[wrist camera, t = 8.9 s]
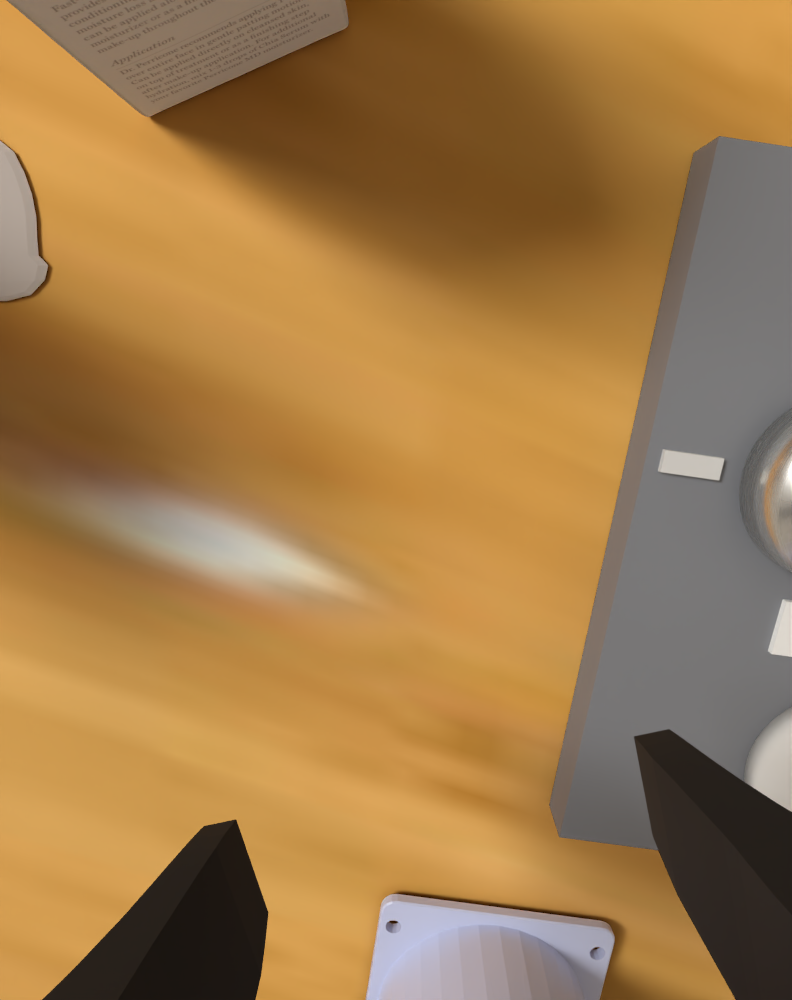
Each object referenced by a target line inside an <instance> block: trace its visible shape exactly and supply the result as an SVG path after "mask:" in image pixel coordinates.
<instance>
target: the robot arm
mask: <svg viewBox="0 0 792 1000" xmlns="http://www.w3.org/2000/svg"><path fill="white" fill-rule="evenodd" d="M634 740H635V746H636V751H637V756H638V761H639V767H640V772H641V777H642V782H643V788H644V793H645V798H646V804H647V809H648V814H649V819H650V825H651V830H652V835H653V838H654V841H655V843H656V845H657V848H658V850H659V853H660V855H661V857H662V860H663V862H664V865H665V867H666V869H667V872H668V874H669V876H670V879H671V881H672V883H673V885H674V888H675V890H676V892H677V895H678V897H679V898H680V900H681V902H682V904H683V906H684V908H685V909H686V911H687V913H688V915H689V917H690V918H691V920H692V922H693V924H694V926H695V927H696V929H697V931H698V933H699V935H700V936H701V938H702V940H703V942H704V944H705V945H706V947H707V949H708V951H709V953H710V954H711V956H712V958H713V960H714V962H715V963H716V965H717V967H718V969H719V970H720V972H721V974H722V976H723V978H724V979H725V981H726V983H727V985H728V987H729V988H730V990H731V992H732V994H733V995H734V997H735V999H736V1000H792V812H791V811H789V810H788V809H786V808H784V807H783V806H781V805H779V804H778V803H776V802H775V801H773V800H771V799H770V798H768V797H767V796H765V795H764V794H762V793H761V792H759V791H758V790H756V789H755V788H753V787H751V786H750V785H748V784H747V783H745V782H744V781H742V780H741V779H739V778H738V777H736V776H735V775H733V774H732V773H731V772H729V771H728V770H726V769H725V768H723V767H722V766H720V765H719V764H718V763H716V762H715V761H713V760H712V759H711V758H709V757H708V756H706V755H705V754H704V753H702V752H701V751H699V750H698V749H697V748H695V747H694V746H693V745H691V744H690V743H688V742H687V741H686V740H684V739H683V738H681V737H680V736H679V735H677V734H676V733H674V732H673V731H671V730H670V729H667V730H662V731H657V732H653V733H648V734H643V735H638V736H634ZM267 920H268V911H267V908H266V905H265V902H264V899H263V896H262V893H261V890H260V888H259V885H258V882H257V879H256V876H255V873H254V870H253V867H252V864H251V861H250V859H249V856H248V853H247V850H246V847H245V844H244V841H243V838H242V835H241V832H240V830H239V827H238V824H237V821H236V820H232V821H227V822H222V823H217V824H212V825H208V826H204V827H203V828H202V829H201V830H200V831H199V832H198V833H197V834H196V835H195V836H194V837H193V838H192V839H191V840H190V841H189V843H188V844H187V845H186V846H185V847H184V848H183V849H182V850H181V852H180V853H179V854H178V855H177V856H176V857H175V858H174V860H173V861H172V862H171V863H170V864H169V865H168V866H167V868H166V869H165V870H164V871H163V872H162V873H161V874H160V876H159V877H158V878H157V879H156V880H155V881H154V882H153V884H152V885H151V886H150V887H149V888H148V889H147V890H146V892H145V893H144V894H143V895H142V896H141V897H140V898H139V899H138V901H137V902H136V903H135V904H134V905H133V906H132V907H131V909H130V910H129V911H128V912H127V913H126V914H125V915H124V916H123V918H122V919H121V920H120V921H119V922H118V923H117V924H116V925H115V926H114V927H113V928H112V929H111V930H110V931H109V932H108V933H107V934H106V936H105V937H104V938H103V939H102V940H101V941H100V942H99V943H98V944H97V945H96V946H95V947H94V948H93V949H92V950H91V951H90V952H89V953H88V955H87V956H86V957H85V958H84V959H83V960H82V961H81V962H80V963H79V964H78V965H77V966H76V967H75V968H74V969H73V970H72V971H71V972H70V973H69V974H68V975H67V976H66V977H65V978H64V979H63V980H62V981H61V982H60V983H59V984H58V985H57V986H56V987H55V988H54V989H53V990H52V991H51V992H50V993H49V994H48V995H47V996H46V997H45V998H43V999H42V1000H255V999H256V994H257V990H258V986H259V981H260V977H261V971H262V963H263V955H264V948H265V939H266V929H267ZM392 920H395V921H398V923H394V924H392V923H390V922H389V921H392ZM614 943H615V937H614V934H613V931H612V929H611V926H610V925H609V924H608V923H606V922H603V921H600V920H592V919H584V918H577V917H569V916H562V915H554V914H546V913H539V912H531V911H523V910H516V909H508V908H501V907H493V906H485V905H478V904H470V903H462V902H455V901H447V900H440V899H432V898H424V897H417V896H409V895H401V894H391V895H389V896H387V897H386V898H384V899H383V901H382V904H381V908H380V915H379V921H378V927H377V933H376V939H375V945H374V951H373V957H372V964H371V970H370V976H369V982H368V988H367V994H366V1000H600V997H601V993H602V989H603V985H604V981H605V977H606V973H607V970H608V966H609V962H610V958H611V954H612V950H613V947H614ZM595 947H600V948H598V949H595V950H592V949H593V948H595Z"/></svg>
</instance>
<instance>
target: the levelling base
mask: <svg viewBox="0 0 792 1000" xmlns="http://www.w3.org/2000/svg"><path fill="white" fill-rule="evenodd" d="M791 408H792V147H787V146H780V145H774V144H767V143H761V142H754V141H747V140H741V139H734V138H728V137H721V136H719V137H717V138H716V139H714V140H713V141H711V142H710V143H708V144H707V145H705V146H703V147H702V148H700V149H699V150H697V151H696V152H694V154H693V158H692V163H691V167H690V172H689V176H688V181H687V185H686V190H685V194H684V199H683V203H682V208H681V212H680V217H679V221H678V226H677V230H676V235H675V239H674V244H673V249H672V253H671V258H670V262H669V267H668V271H667V276H666V280H665V285H664V289H663V294H662V298H661V303H660V307H659V312H658V316H657V321H656V325H655V330H654V334H653V339H652V343H651V348H650V352H649V357H648V362H647V366H646V371H645V375H644V380H643V384H642V389H641V393H640V398H639V402H638V407H637V411H636V416H635V420H634V425H633V429H632V434H631V438H630V443H629V447H628V452H627V456H626V461H625V465H624V470H623V475H622V479H621V484H620V488H619V493H618V497H617V502H616V506H615V511H614V515H613V520H612V524H611V529H610V533H609V538H608V542H607V547H606V551H605V556H604V560H603V565H602V569H601V574H600V578H599V583H598V588H597V592H596V597H595V601H594V606H593V610H592V615H591V619H590V624H589V628H588V633H587V637H586V642H585V646H584V651H583V655H582V660H581V664H580V669H579V673H578V678H577V682H576V687H575V691H574V696H573V701H572V705H571V710H570V714H569V719H568V723H567V728H566V732H565V737H564V741H563V746H562V750H561V755H560V759H559V764H558V768H557V773H556V777H555V782H554V786H553V791H552V795H551V800H550V804H549V805H550V809H551V812H552V815H553V818H554V821H555V825H556V828H557V831H558V834H559V837H562V838H570V839H577V840H585V841H593V842H600V843H608V844H615V845H623V846H630V847H638V848H645V849H653V850H658V848H657V845H656V843H655V841H654V838H653V835H652V830H651V825H650V819H649V814H648V809H647V804H646V798H645V793H644V788H643V782H642V777H641V772H640V767H639V761H638V756H637V751H636V746H635V740H634V736H638V735H643V734H648V733H653V732H657V731H662V730H667V729H670V730H671V731H673V732H674V733H676V734H677V735H679V736H680V737H681V738H683V739H684V740H686V741H687V742H688V743H690V744H691V745H693V746H694V747H695V748H697V749H698V750H699V751H701V752H702V753H704V754H705V755H706V756H708V757H709V758H711V759H712V760H713V761H715V762H716V763H718V764H719V765H720V766H722V767H723V768H725V769H726V770H728V771H729V772H731V773H732V774H733V775H735V776H736V777H738V778H739V779H741V780H742V781H744V782H745V783H747V784H748V785H750V786H751V787H753V788H755V789H756V790H758V791H759V792H761V793H762V794H764V795H765V796H767V797H768V798H770V799H771V800H773V801H775V802H776V803H778V804H779V805H781V806H783V807H784V808H786V809H788V810H789V811H791V812H792V572H790V571H789V570H787V569H785V568H784V567H782V566H780V565H779V564H777V563H775V562H774V561H773V560H771V559H770V558H768V557H767V556H766V555H765V554H764V553H763V552H762V551H761V550H759V548H758V547H757V546H756V545H755V543H754V542H753V541H752V539H751V537H750V536H749V534H748V532H747V530H746V528H745V525H744V523H743V520H742V516H741V511H740V503H739V488H740V481H741V476H742V472H743V469H744V466H745V462H746V460H747V458H748V456H749V454H750V452H751V450H752V448H753V446H754V445H755V443H756V442H757V440H758V438H759V437H760V436H761V435H762V434H763V432H764V431H765V430H766V429H767V428H768V427H769V426H770V425H771V424H772V423H773V422H774V421H775V420H776V419H777V418H778V417H780V416H781V415H782V414H783V413H785V412H786V411H788V410H789V409H791Z"/></svg>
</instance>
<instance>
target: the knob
mask: <svg viewBox="0 0 792 1000" xmlns="http://www.w3.org/2000/svg"><path fill="white" fill-rule="evenodd" d="M739 503H740V511H741V516H742V520H743V523H744V525H745V528H746V530H747V532H748V534H749V536H750V537H751V539H752V541H753V542H754V543H755V545H756V546H757V547H758V548H759V550H761V551H762V552H763V553H764V554H765V555H766V556H767V557H768V558H770V559H771V560H773V561H774V562H775V563H777V564H779V565H780V566H782V567H784V568H785V569H787V570H789V571H790V572H792V408H791V409H789V410H788V411H786V412H785V413H783V414H782V415H781V416H780V417H778V418H777V419H776V420H775V421H774V422H773V423H772V424H771V425H770V426H769V427H768V428H767V429H766V430H765V431H764V432H763V434H762V435H761V436H760V437H759V438H758V440H757V442H756V443H755V445H754V446H753V448H752V450H751V452H750V454H749V456H748V458H747V460H746V462H745V466H744V469H743V472H742V476H741V481H740V488H739Z"/></svg>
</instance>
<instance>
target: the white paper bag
mask: <svg viewBox="0 0 792 1000" xmlns="http://www.w3.org/2000/svg"><path fill="white" fill-rule="evenodd" d="M47 269H48V265H47V264H46V262H45V261H44V260H43V259H42V258H41V257H40V256H39V254H38V242H37V221H36V213H35V208H34V202H33V197H32V193H31V190H30V187H29V184H28V181H27V178H26V176H25V173H24V171H23V169H22V167H21V165H20V163H19V161H18V159H17V157H16V155H15V153H14V152H13V151H12V150H11V149H10V148H8V147H7V146H6V145H5V144H4V143H2V142H1V141H0V301H8V300H13V299H17V298H21V297H25V296H29V295H31V294H32V293H33V292H34V291H35V290H36V289H37V288H38V287H39V286H40V285H41V284H42V283H43V282H44V280H45V277H46V273H47Z"/></svg>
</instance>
